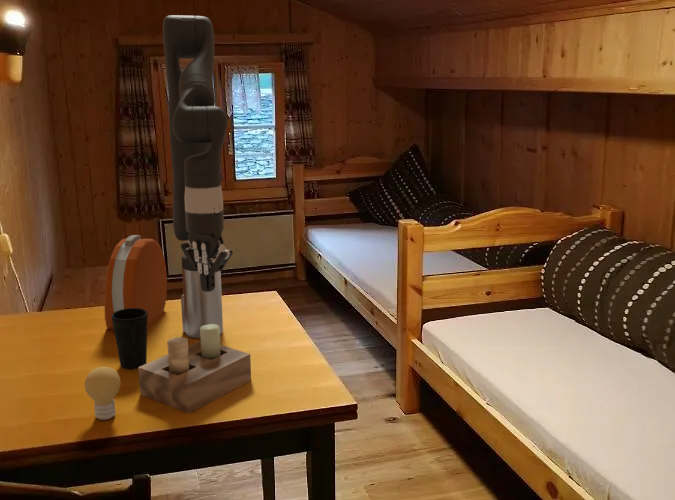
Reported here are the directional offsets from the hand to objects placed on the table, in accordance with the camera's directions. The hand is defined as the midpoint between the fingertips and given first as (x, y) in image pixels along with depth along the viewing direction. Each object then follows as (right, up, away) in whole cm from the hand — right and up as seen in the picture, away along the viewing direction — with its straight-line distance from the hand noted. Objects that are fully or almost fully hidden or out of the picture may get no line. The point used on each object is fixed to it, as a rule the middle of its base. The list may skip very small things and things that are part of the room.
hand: (208, 290), depth 146 cm
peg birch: (-5, -16, -3) cm, 17 cm away
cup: (-19, -17, +13) cm, 29 cm away
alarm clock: (-26, -10, +40) cm, 49 cm away
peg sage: (0, -14, +4) cm, 15 cm away
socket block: (-3, -20, +2) cm, 20 cm away
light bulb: (-18, -24, -11) cm, 31 cm away
